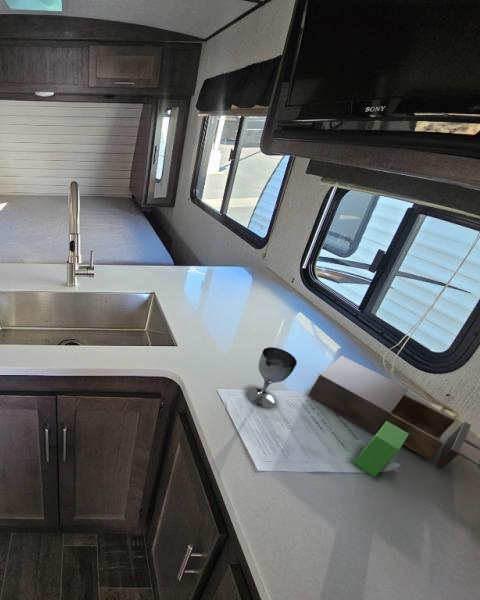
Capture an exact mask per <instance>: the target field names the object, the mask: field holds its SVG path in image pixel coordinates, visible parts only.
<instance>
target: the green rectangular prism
mask: <svg viewBox="0 0 480 600" xmlns="http://www.w3.org/2000/svg"><path fill="white" fill-rule="evenodd" d="M408 435H409V433H407V432H405V431H403V430H402V429H400V428H398V427H396V426H395V425H393V424H391V423H389V422H388V421H386V422H385V424H384V425H383V426H382V427H381V429H380V430H377V431H376V432H375V434H374V436H373V437H372V438H371V439H370V441H369V442H368V443H367V444H366V446H365V447H364V448H363V450H362V451H361V452H360V454H359V455H358V457H357V458H356V459H355V460H354V462H353V464H354V465H356V466H357V467H359V468H361V469H362V470H363V471H365V472H366V473H368V474H369V475H371V476H372V477H373V478H375V477H376V476H377V475H378V474H379V473H380V472H381V471H382V470H383V469H384V468H385V467H386V465H387V464H388V463H389V462H390V461H391V460H392V459H393V457H394V456H395V455H396V454H397V453H398V452H399V451H400V449H401V447H402V446H404V445H403V443H404V441H405V440H406V438H407V436H408Z"/></svg>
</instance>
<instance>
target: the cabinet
mask: <svg viewBox="0 0 480 600" xmlns="http://www.w3.org/2000/svg"><path fill="white" fill-rule="evenodd" d="M408 390H409V388H408V387H406V386H404V385H402V384H400V383H398V382H396V381H394V380H392V379H390V378H388V377H386V376H384V375H382V374H380V373H377V372H375V371H373V370H372V369H369V368H367V367H366V366H364V365H361V364H359V363H357V362H355V361H353V360H352V359H349V358H347V357H346V356H343V355H340V357H338V358H337V359H336V360H335V361H334V362H332V363H331V364H330V365H329V366H328V367H326V369H324V370H323V371H322V372H321V373H319V375H318V377H317V379H316V381H315V382H314V384H313V386H312V387H311V389H310V391H309V393H307V394H308V395H307V396H309V397H310V398H312V399H314V400H315V401H317V402H318V403H320V404H322V405H324V406H325V407H327V408H329V409H330V410H332V411H334V412H335V413H337V414H339V415H340V416H342V417H343V418H344V419H347V420H348V421H350V422H351V423H353V424H355V425H357V426H358V427H360V428H361V429H363V430H365V431H366V432H368V433H369V434H371V435H372V436H373V435H374V436H375V435H376V433H377V432H378V431H379V430H378V429H379V427H380V426H381V425H382V424H383V422H384V421H385V420H386V419H387V417H388V416H389V415H390V414H391V412H392V411H393V409H394V408H395V407H396V405H397V404H398V403H399V401H400V400H401V399H402V397H403V396H404V394H407V392H408Z"/></svg>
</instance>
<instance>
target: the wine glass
mask: <svg viewBox="0 0 480 600" xmlns="http://www.w3.org/2000/svg"><path fill="white" fill-rule="evenodd" d="M297 364H298V361H297V359H296V358H295V356H293V355H292V353H290V352H289V351H287V350H284V349H282V348H278V347H272V346H271V347H265V348H264V349H263V350H262V351H261V354H260V357H259V361H258V371H259V374H260V376H261V377H262V378H263V381H264V382H263V386H262V389H261V388H258V387H250V388H248V389H247V390H246V396H247V398H248V400H249V401H251V402H252V403H253V404H254V405H257V406H258V407H261V408H265V409H266V408H269V409H270V408H272V407H274V405H275V399H274V397H273V396H272V395H271V394H270V393H269V392H267V389H268V388H269V387H270V385H271V384H276V383H281V382H284V381H286V380H287V379H288V378H289V377H290V376H291V375H292V374H293V372H294V370H295V369H296V366H297Z"/></svg>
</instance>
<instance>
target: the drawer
mask: <svg viewBox="0 0 480 600" xmlns="http://www.w3.org/2000/svg"><path fill="white" fill-rule="evenodd" d="M386 421H388V422H389V423H391V424H393V425H395V426H396V427H398V428H400V429H402V430H403V431H405V432H407V433H409V435H408V436H407V438H406V440H405V441H404V443H403V445H402V446H405V447H406V448H408V449H410V450H412V451H413V452H415V453H416V454H418V455H420V456H421V457H423V458H425V459H427V460H429V459H430V458H431V457H432V456H433V455H434V454H436V452H437V451H439V449H440V448H441V447H442V449H441V452H440V454H439V456H438V457H437V460H436V462H435V464H434V467H435V468H436V469H438V470H440V471H442V470H443V469H444V468H446V467H447V466H448V465H449V463H451V462H452V461H453V460H454V459H456V457H457V456H459V457H462V458H463V459H465V460H466V461H468V462H470V463H471V464H474V465H475V466H477V468H478V469H479V470H480V459H479V460H476V459H475V458H472V457H470V456H469V455H467V454H465V453H463V452H461V450H462V448H463V445H464V443H465V444H468V445H469V446H471V447H473V448H475V449H476V450H479V451H480V445H479V444H476V443H474V442H473V441H471V440H469V439H467V436H468V434H469V431H470V430H471V427H472V424H470V423H469V422H466V421H463V422H462V423H461V424H460V425H459V426H458V427H457V428H456V429H455V430H454V431H453V432H452V433H451V434H450V435H449V437H447V439H446V441H443V440H441V437H442V435H443V434H444V433H445V432H446V431H447V430H448V429H449V428H450V427H451V426H452V425H453V424H454V423H455V422H456V419H455V418H454V417H451V416H450V415H448V414H446V413H444V412H442V411H439V410H438V409H436V408H434V407H432V406H430V405H428V404H427V403H424V402H422V401H420V400H418V399H416V398H415V397H412V396H410V395H408V394H407V393H405V394H404V396H403V397H402V399H401V400H400V401H399V403H398V404H397V405H396V407H395V408H394V409H393V411H392V412H391V414H390V415H389V416H388V417H387V419H386V420H385V421H384V422H383V424H382V425H381V426H380V427H379V429H378V430H377V431H379V430H380V429H381V427H382V426H383V425H384V424H385V422H386Z"/></svg>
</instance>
